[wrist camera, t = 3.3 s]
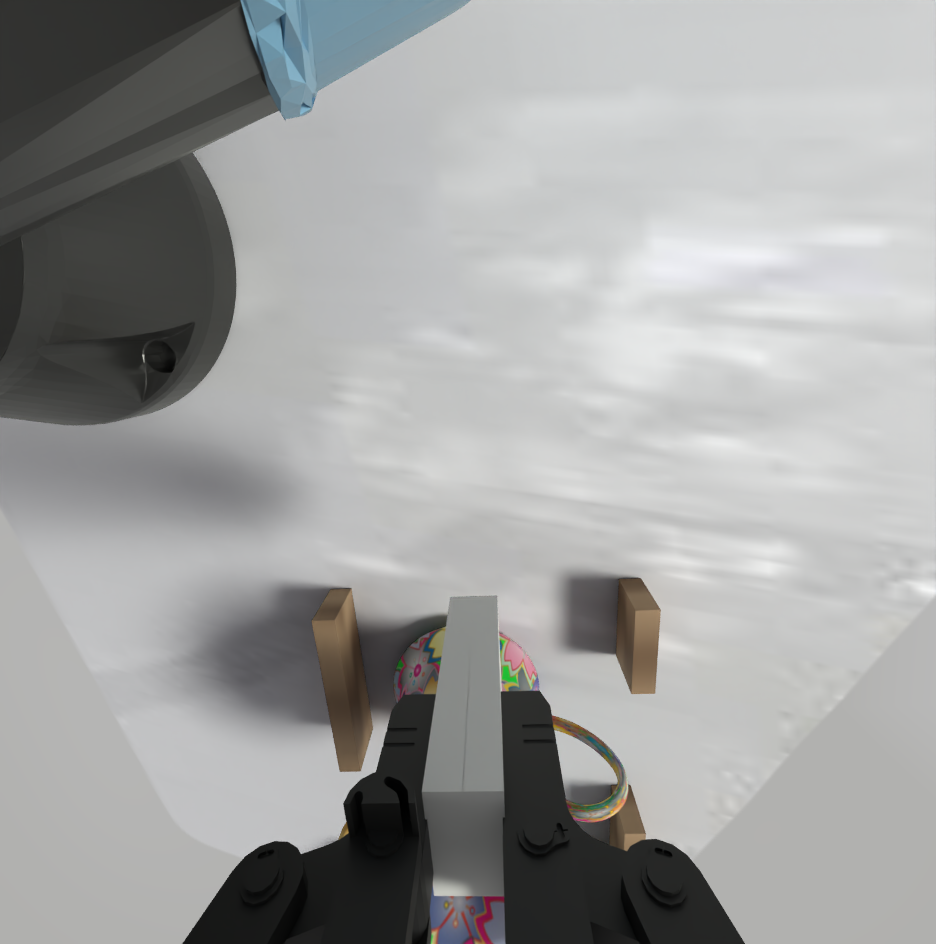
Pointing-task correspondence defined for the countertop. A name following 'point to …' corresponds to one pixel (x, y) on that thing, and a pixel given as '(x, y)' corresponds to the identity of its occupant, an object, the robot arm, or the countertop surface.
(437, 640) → the mug
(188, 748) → the countertop surface
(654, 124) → the countertop surface
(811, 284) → the countertop surface
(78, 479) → the countertop surface
